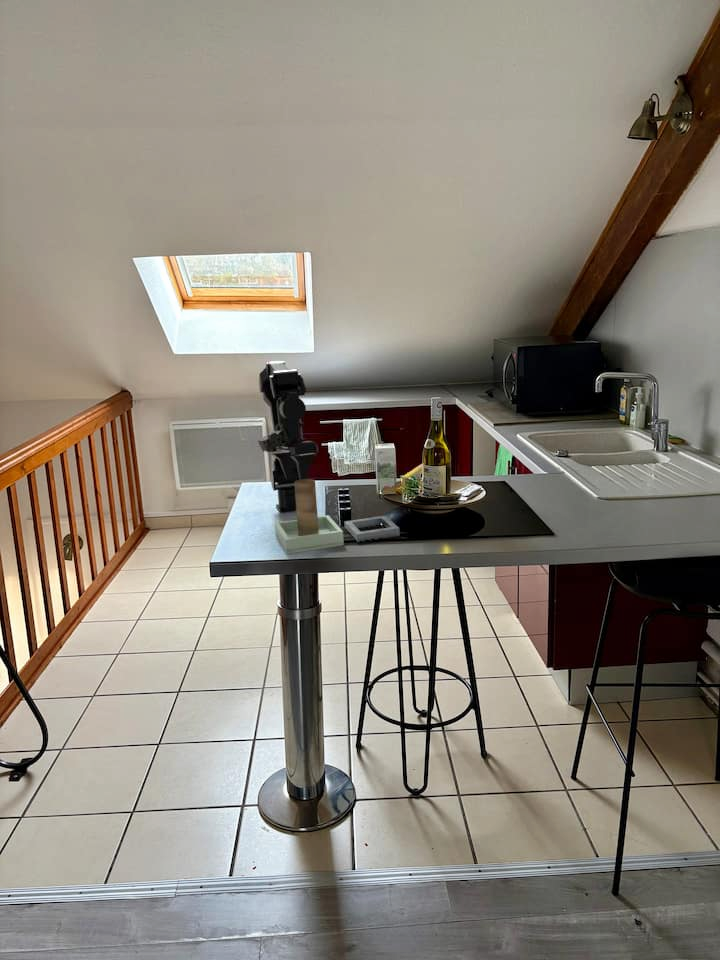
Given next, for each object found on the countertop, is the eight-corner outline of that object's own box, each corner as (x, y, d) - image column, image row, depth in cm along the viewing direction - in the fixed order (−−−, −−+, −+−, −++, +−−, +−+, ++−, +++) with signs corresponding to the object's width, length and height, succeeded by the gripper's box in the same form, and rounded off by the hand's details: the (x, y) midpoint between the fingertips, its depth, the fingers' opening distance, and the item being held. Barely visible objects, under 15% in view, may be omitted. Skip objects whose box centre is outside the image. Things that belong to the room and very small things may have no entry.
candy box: (408, 505, 207) (407, 477, 205) (401, 505, 208) (400, 476, 206) (428, 490, 221) (427, 463, 219) (421, 489, 222) (421, 462, 220)
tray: (275, 535, 188) (274, 522, 187) (329, 527, 192) (328, 515, 191) (286, 553, 175) (285, 539, 174) (343, 545, 179) (342, 531, 178)
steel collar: (344, 528, 190) (344, 521, 190) (385, 522, 193) (385, 515, 193) (357, 542, 180) (356, 534, 180) (399, 535, 183) (399, 528, 183)
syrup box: (395, 489, 223) (393, 442, 220) (397, 495, 218) (395, 446, 214) (376, 490, 223) (374, 443, 219) (377, 496, 217) (375, 447, 214)
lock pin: (301, 532, 186) (297, 478, 182) (321, 533, 185) (317, 479, 181) (296, 539, 181) (291, 484, 178) (315, 540, 180) (311, 484, 177)
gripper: (246, 422, 193) (253, 482, 195) (274, 423, 177) (280, 487, 179) (286, 418, 198) (292, 476, 200) (316, 418, 182) (322, 481, 184)
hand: (295, 480), depth 191 cm, fingers open, 9 cm apart
